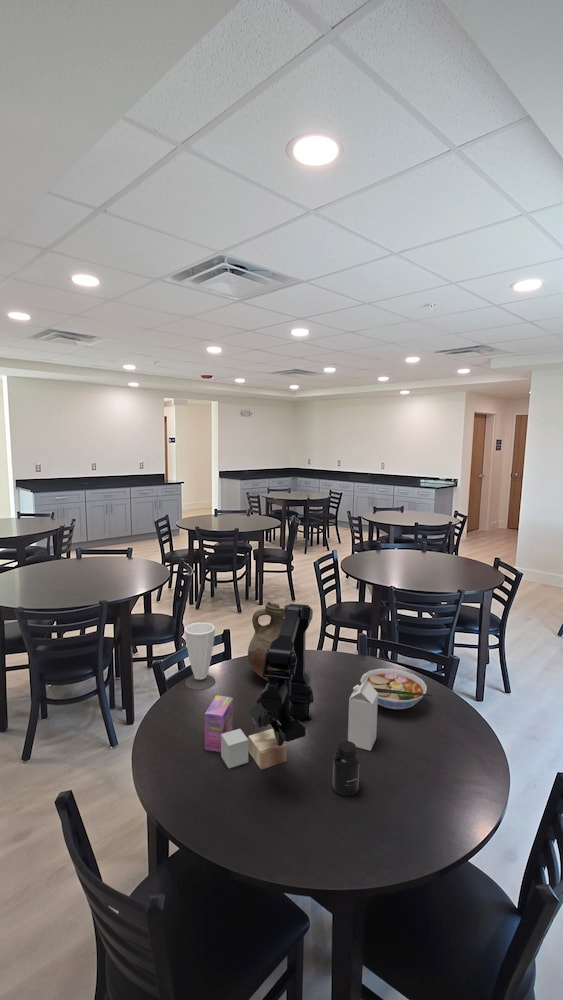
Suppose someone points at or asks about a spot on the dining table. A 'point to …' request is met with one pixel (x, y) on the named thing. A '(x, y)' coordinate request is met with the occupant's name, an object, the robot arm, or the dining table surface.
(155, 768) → the dining table surface
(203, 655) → the cup
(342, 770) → the supplement bottle
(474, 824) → the dining table surface
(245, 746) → the grey block
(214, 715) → the box
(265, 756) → the birch block
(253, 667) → the jug
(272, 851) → the dining table surface
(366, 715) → the milk carton
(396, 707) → the ramen bowl
